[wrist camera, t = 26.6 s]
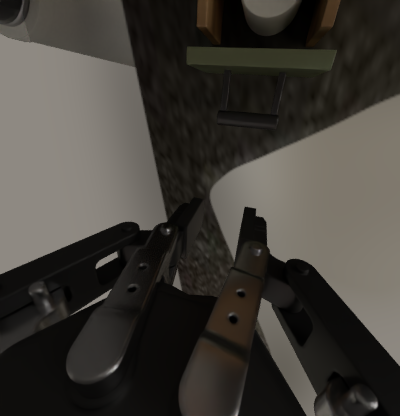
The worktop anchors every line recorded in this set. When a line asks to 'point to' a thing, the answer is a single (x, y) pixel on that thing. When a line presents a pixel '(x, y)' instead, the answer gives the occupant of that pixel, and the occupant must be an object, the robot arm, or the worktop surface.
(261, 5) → the grey cylinder
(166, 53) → the worktop surface
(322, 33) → the drawer
